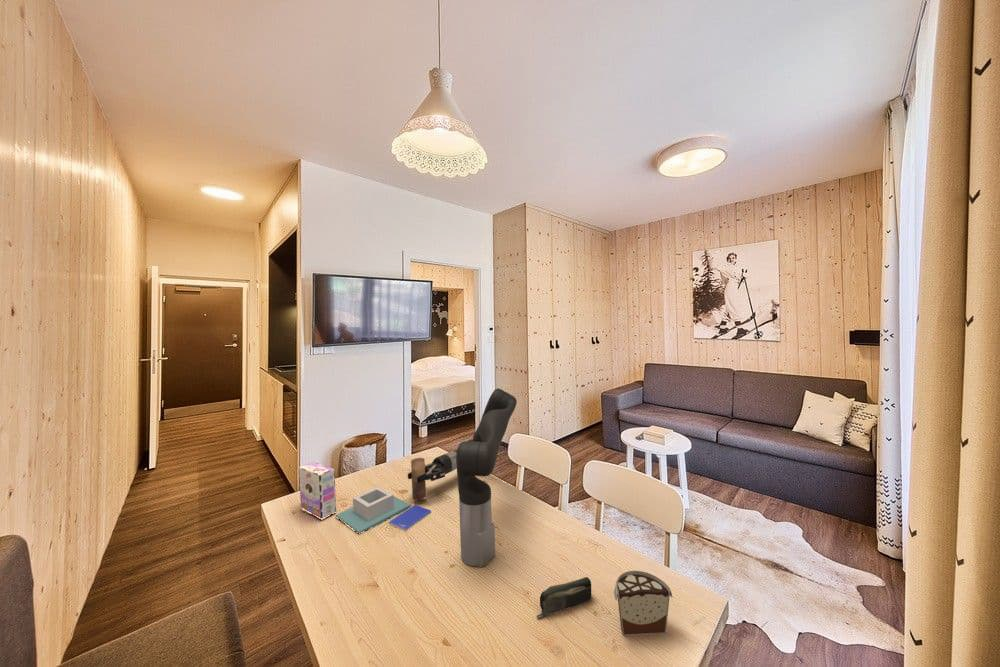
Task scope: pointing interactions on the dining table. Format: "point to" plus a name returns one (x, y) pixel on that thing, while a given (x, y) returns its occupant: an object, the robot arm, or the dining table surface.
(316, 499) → the candy box
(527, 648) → the dining table surface
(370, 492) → the socket plate
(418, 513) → the hard drive
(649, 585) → the chocolate drizzled cake
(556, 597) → the black pencil case
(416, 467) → the walnut peg
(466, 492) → the robot arm
